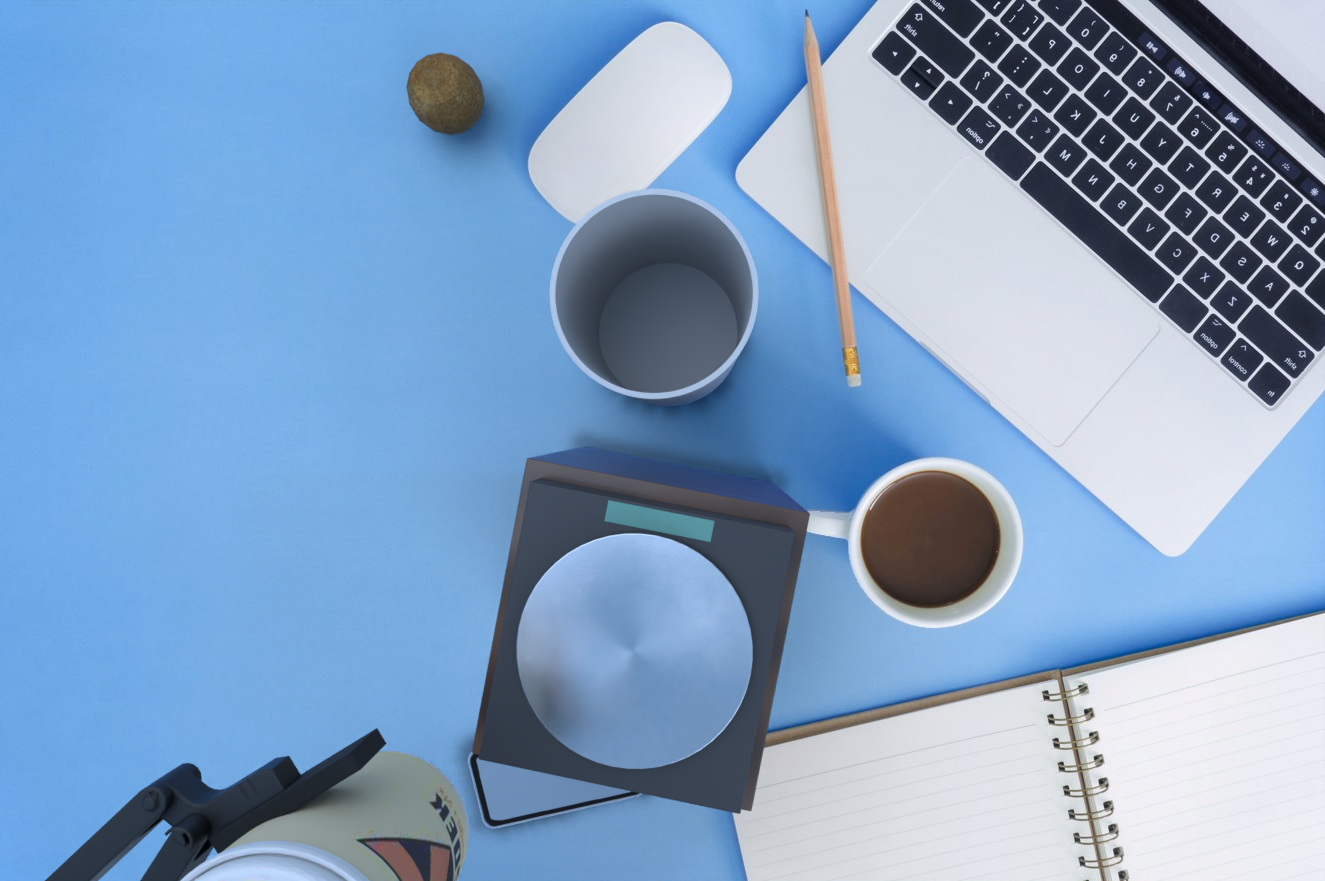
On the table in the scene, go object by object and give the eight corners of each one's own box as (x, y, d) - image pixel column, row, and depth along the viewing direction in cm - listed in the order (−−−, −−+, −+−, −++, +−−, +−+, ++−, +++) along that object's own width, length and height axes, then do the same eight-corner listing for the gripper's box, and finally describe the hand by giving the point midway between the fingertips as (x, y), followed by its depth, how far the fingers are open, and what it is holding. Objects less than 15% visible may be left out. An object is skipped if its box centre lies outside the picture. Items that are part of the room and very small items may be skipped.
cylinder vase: (755, 386, 77) (781, 369, 52) (617, 421, 78) (578, 421, 53) (720, 248, 77) (729, 165, 52) (583, 284, 78) (527, 218, 53)
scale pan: (727, 786, 49) (728, 791, 48) (498, 739, 49) (496, 743, 48) (772, 556, 48) (773, 558, 48) (541, 511, 49) (539, 512, 48)
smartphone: (465, 751, 78) (627, 713, 77) (467, 747, 79) (628, 710, 78) (485, 831, 78) (648, 795, 77) (487, 827, 79) (649, 791, 78)
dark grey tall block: (734, 681, 78) (751, 811, 52) (547, 643, 78) (471, 753, 52) (773, 482, 77) (810, 513, 51) (584, 446, 78) (526, 457, 52)
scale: (738, 792, 52) (740, 815, 49) (490, 740, 52) (477, 760, 49) (790, 526, 51) (795, 533, 48) (539, 477, 52) (529, 481, 49)
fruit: (505, 93, 78) (482, 55, 70) (476, 158, 78) (451, 128, 70) (441, 65, 78) (411, 24, 70) (413, 130, 78) (380, 96, 70)
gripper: (-90, 858, 39) (329, 597, 38) (155, 1264, 39) (584, 1013, 38) (-277, 960, 32) (238, 640, 31) (26, 1462, 32) (555, 1158, 31)
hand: (429, 847), depth 34 cm, fingers closed on coffee cup, 8 cm apart
